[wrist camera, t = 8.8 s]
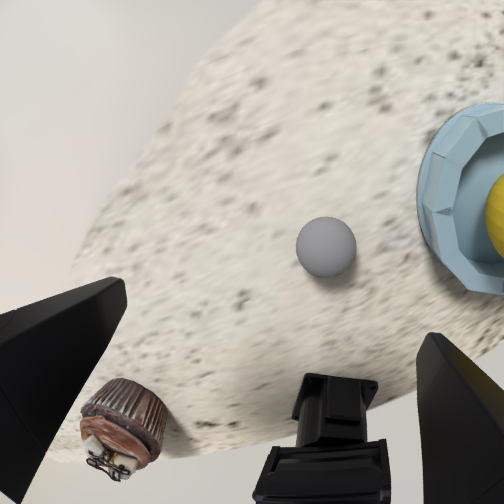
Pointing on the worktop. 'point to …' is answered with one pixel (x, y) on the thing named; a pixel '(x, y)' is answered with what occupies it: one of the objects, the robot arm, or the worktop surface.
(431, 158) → the dish
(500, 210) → the lemon
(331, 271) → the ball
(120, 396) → the cupcake
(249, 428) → the worktop surface
